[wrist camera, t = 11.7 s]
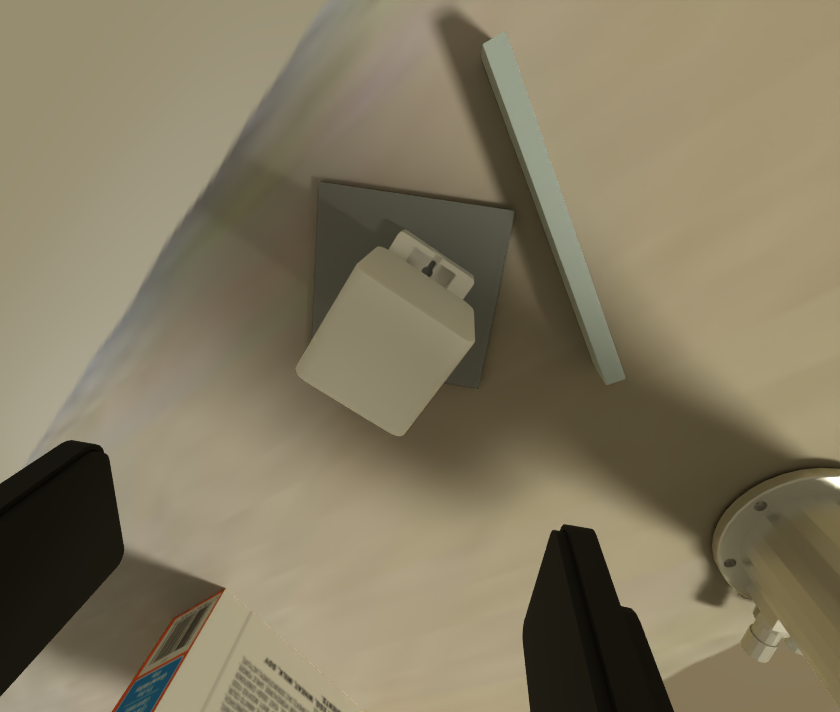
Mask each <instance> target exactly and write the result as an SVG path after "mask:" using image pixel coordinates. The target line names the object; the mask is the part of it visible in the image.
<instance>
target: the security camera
mask: <svg viewBox="0 0 840 712" xmlns="http://www.w3.org/2000/svg"><path fill="white" fill-rule="evenodd" d="M431 261H435V262H436V265H435V266H434V268H433V269H432V271H433V274H432V276H430V277H428V276H427V275H425V274H424V273H422V269H423V268H424V267H427V266H428V265H429V263H430V262H431ZM473 285H474V276H473V275H472V274H471V273H469V272H468V271H467V270H465V269H464V268H462V267H461V266H459V265H458V264H456V263H455V262H453V261H452V260H450V259H449V258H447V257H446V256H445V255H443V254H442V253H440V252H439V251H437V250H436V249H434V248H433V247H431V246H430V245H428V244H427V243H425V242H424V241H423V240H421V239H420V238H418V237H417V236H415V235H414V234H412V233H411V232H409V231H408V230H405V229H404V230H402V231H401V232H400V233H399V234H398V235H397V237H396V238H395V240H394V242H393V243H392V245H391V246H390V248H389V250H387V249H386V248H383V247H380V246H378V247H376V248H375V249H374V250H373V251H371V252H370V253H369V254H368V255H367V256H366V257H364V258H363V259H362V260H361V261H360V262H358V263H357V264H356V266H355V268H354V269H353V271H352V273H351V275H350V276H349V278H348V280H347V281H346V283H345V285H344V286H343V288H342V290H341V291H340V293H339V295H338V296H337V298H336V300H335V302H334V303H333V305H332V307H331V308H330V310H329V312H328V313H327V315H326V317H325V318H324V320H323V322H322V323H321V325H320V327H319V329H318V330H317V332H316V334H315V335H314V337H313V339H312V340H311V342H310V344H309V345H308V347H307V349H306V350H305V352H304V354H303V356H302V357H301V359H300V361H299V362H298V364H297V366H296V368H295V369H296V373H297V375H298V376H299V377H300V378H301V379H302V380H303V381H305V382H306V383H308V384H310V385H311V386H313V387H315V388H316V389H318V390H320V391H321V392H323V393H324V394H326V395H328V396H329V397H331V398H333V399H334V400H336V401H338V402H339V403H341V404H343V405H344V406H346V407H347V408H349V409H351V410H352V411H354V412H356V413H357V414H359V415H361V416H362V417H364V418H365V419H367V420H369V421H370V422H372V423H374V424H375V425H377V426H379V427H380V428H382V429H384V430H385V431H387V432H388V433H390V434H392V435H395V436H403V435H404V434H405V433H406V432H407V430H408V429H409V428H410V426H411V425H412V424H413V422H414V421H415V420H416V419H417V417H418V416H419V415H420V413H421V412H422V411H423V409H424V408H425V407H426V405H427V404H428V403H429V402H430V400H431V399H432V398H433V396H434V395H435V394H436V392H437V391H438V390H439V388H440V387H441V386H442V385H443V383H444V382H445V381H446V379H447V378H448V377H449V375H450V374H451V373H452V371H453V370H454V369H455V368H456V366H457V365H458V364H459V362H460V361H461V360H462V358H463V357H464V356H465V354H466V353H467V352H468V351H469V349H470V348H471V347H472V345H473V344H474V342H475V327H474V310H473V308H472V307H471V306H470V305H469V304H468V303H466V302H465V301H464V300H463V299H464V297H465V296H466V295H467V293H468V292H469V290H470V289H471V288H472V286H473Z"/></svg>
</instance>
